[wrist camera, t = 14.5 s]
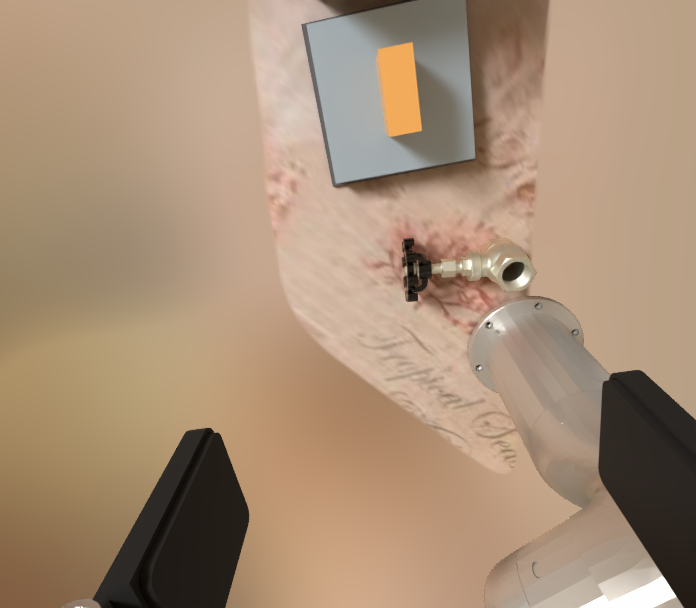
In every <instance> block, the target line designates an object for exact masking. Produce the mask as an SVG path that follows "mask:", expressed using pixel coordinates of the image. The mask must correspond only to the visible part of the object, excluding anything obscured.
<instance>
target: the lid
mask: <svg viewBox="0 0 696 608" xmlns="http://www.w3.org/2000/svg"><path fill="white" fill-rule="evenodd" d="M306 26H307V31H308V36H309V42H310V47H311V53H312V58H313V63H314V69H315V74H316V79H317V85H318V90H319V96H320V101H321V106H322V112H323V117H324V123H325V128H326V133H327V139H328V144H329V149H330V155H331V160H332V166H333V171H334V176H335V182H336V184H337V183H342V182H348V181H353V180H359V179H364V178H370V177H375V176H381V175H386V174H392V173H397V172H403V171H408V170H414V169H419V168H425V167H430V166H436V165H441V164H447V163H453V162H458V161H464V160H469V159H475V142H474V126H473V109H472V93H471V77H470V61H469V45H468V29H467V12H466V0H416V1H412V2H407V3H402V4H398V5H393V6H389V7H384V8H380V9H375V10H371V11H366V12H361V13H357V14H352V15H348V16H343V17H339V18H334V19H329V20H325V21H320V22H316V23H311V24H307V25H306Z"/></svg>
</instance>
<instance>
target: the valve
mask: <svg viewBox="0 0 696 608" xmlns="http://www.w3.org/2000/svg"><path fill="white" fill-rule="evenodd" d="M412 246H414V238H407V239H403V242H402V251H403V253H404V257H402V266H403V268H404V278H403V283H404V287H406V291H405V298H406V301H407V302H413V301H418V293H415V292H421V291H423V290H424V289H425V288H426V286H427V283H428V279H431V278H432V274H438V273H440V274H441V277H442V278H445V277H455V275H456V273H461V275H462V276H466V277H467V280H468V281H479V280H480V278H481V277H488V278H489V279H490V280H491V281H493V282H495V283H497V284H499V286H500V287H501V288H502V290H503V291H504V292H513V291H523V290H525V289H526V288H527V287H528V286H529V284H530V283H531V282H532V280H533V278H534V277H535V275H536V271H535V269H534V267H533V265H532V263H531V262H530V260H529V258H528V257H527V255H526V253H525V251H524V250H523V249H522V248H521V247H520V246H518V245H516V244H514V243H511V242H510V241H509V240H508V239H506V238H502V239H489V240H487V241H486V243H485V245H484V246H483V248H482V249H481V251H480V253H479V252H478V251H467V252H466V255H465V257H461V258H460V261H455V259H454V258H447V259H441V260H440V263H439V264H431V261H430V259H427V258H426V256H425V255H423V254H420V253H416V252H412V250H411V249H412ZM418 280H422V285H421V286H418ZM414 286H417V287H414Z"/></svg>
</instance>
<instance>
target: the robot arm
mask: <svg viewBox="0 0 696 608" xmlns="http://www.w3.org/2000/svg"><path fill="white" fill-rule="evenodd" d="M536 303H537V304H536ZM535 304H536V305H535ZM487 322H489V323H487ZM486 323H487V324H486ZM583 342H584V339H583V331H582V328H581V326H580V323H579V322H578V320H577V319H576V317H575V316H574V315H573V313H571V312H570V311H569V310H568V309H567V308H566V307H564V306H563V305H562V304H560V303H559V302H556V301H554V300H552V299H549V298H544V297H540V296H525V297H518V298H515V299H511V300H508V301H506V302H503V303H501V304H499V305H497V306H496V307H494V308H493V309H492V310H490V311H489V312H487V313H486V314H485V315H484V316H483V317H482V318H481V319H480V321H479V322H478V324H477V325H476V326H475V328H474V330H473V332H472V334H471V337H470V340H469V345H468V358H469V362H470V365H471V368H472V370H473V372H474V374H475V375H476V377H477V379H478V380H479V381H480V382H481V383H482V384H483V385H484V386H486V387H487V388H489V389H490V390H492V391H494V392H497V393H499V394H500V396H501V398H502V400H503V402H504V404H505V406H506V408H507V411H508V413H509V415H510V417H511V419H512V421H513V423H514V425H515V427H516V429H517V431H518V433H519V435H520V437H521V439H522V441H523V443H524V445H525V447H526V449H527V451H528V453H529V455H530V457H531V459H532V461H533V463H534V465H535V467H536V469H537V471H538V472H539V474H540V476H541V477H542V478H543V480H544V481H545V482H546V483H547V484H548V485H549V486H550V487H551V488H552V489H553V490H554V491H555V492H557V493H558V494H559V495H560V496H562V497H563V498H565V499H566V500H568V501H570V502H571V503H573V504H575V505H577V506H579V507H581V508H583V509H582V510H580V511H579V512H577V513H576V514H574V515H572V516H571V517H570V518H569V519H568V520H566V521H564V522H563V523H561V524H559V525H558V526H556V527H554V528H552V529H551V530H549V531H548V532H546V533H544V534H542V535H541V536H539V537H537V538H536V539H534V540H532V541H531V542H529V543H527V544H526V545H524V546H522V547H520V548H519V549H518V550H516V551H514V552H513V553H511V554H509V555H508V556H507V557H505V558H504V559H502V560H501V561H500V562H499V563H498V564H496V565H495V566H494V568H493V569H492V570H491V571H490V573H489V575H488V577H487V579H486V583H485V586H484V604H485V608H696V420H695V419H694V418H693V417H692V416H691V415H690V414H689V413H687V412H686V411H685V410H684V409H683V408H682V407H681V406H680V405H679V404H677V402H675V401H674V400H673V399H672V398H671V397H670V396H669V395H668V394H667V393H666V392H664V391H663V390H662V389H661V388H660V387H659V386H658V385H657V384H656V383H655V382H654V381H652V380H651V379H650V378H649V377H648V376H647V375H646V374H645V373H644V372H642V371H640V370H633V371H626V372H618V373H613V374H611V375H610V374H609V373H608V372H607V371H606V370H605V369H604V368H603V367H602V366H601V365H600V363H599V362H598V361H597V360H596V359H595V358H594V357H593V356H592V355H591V354H590V353H589V352H588V351H587V350H586V349H585V348H584V347H583ZM248 523H249V510H248V506H247V504H246V501H245V498H244V496H243V493H242V490H241V488H240V485H239V483H238V480H237V477H236V474H235V472H234V469H233V467H232V464H231V461H230V458H229V456H228V453H227V450H226V448H225V445H224V442H223V440H222V437H221V435H220V434H219V433H214V431H213V430H212V429H211V428H204V429H196V430H189V431H187V432H186V433H185V434H184V436H183V438H182V440H181V441H180V443H179V445H178V447H177V448H176V450H175V452H174V454H173V456H172V458H171V459H170V461H169V463H168V465H167V467H166V468H165V470H164V472H163V474H162V476H161V477H160V479H159V481H158V483H157V485H156V486H155V488H154V490H153V492H152V494H151V495H150V497H149V499H148V501H147V502H146V504H145V506H144V508H143V510H142V511H141V513H140V515H139V517H138V519H137V521H136V522H135V524H134V526H133V528H132V529H131V531H130V533H129V535H128V537H127V538H126V540H125V542H124V544H123V546H122V548H121V549H120V551H119V553H118V555H117V556H116V558H115V560H114V562H113V564H112V565H111V567H110V569H109V571H108V573H107V575H106V576H105V578H104V580H103V582H102V583H101V585H100V587H99V589H98V591H97V592H96V594H95V596H94V598H93V600H92V599H79V600H76V601H73V602H70V603H68V604H66V605H64V606H62V607H60V608H225V606H226V603H227V599H228V595H229V592H230V588H231V585H232V581H233V578H234V574H235V570H236V567H237V563H238V560H239V556H240V552H241V549H242V545H243V542H244V538H245V534H246V531H247V527H248Z"/></svg>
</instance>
